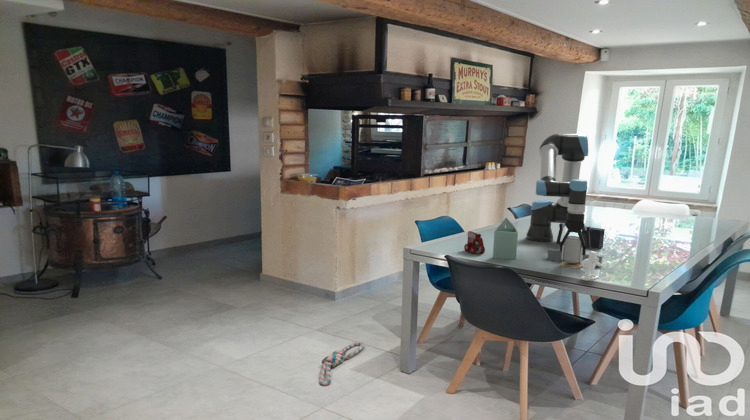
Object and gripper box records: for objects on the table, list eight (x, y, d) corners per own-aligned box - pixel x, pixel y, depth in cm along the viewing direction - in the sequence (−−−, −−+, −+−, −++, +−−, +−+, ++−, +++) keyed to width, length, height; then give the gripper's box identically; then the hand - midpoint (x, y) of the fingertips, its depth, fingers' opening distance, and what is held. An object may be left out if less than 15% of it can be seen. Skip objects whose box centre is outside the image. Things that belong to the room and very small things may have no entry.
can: (560, 259, 235) (562, 235, 233) (575, 259, 236) (577, 235, 234) (567, 263, 228) (569, 238, 226) (583, 263, 228) (585, 238, 226)
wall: (547, 259, 243) (548, 249, 242) (549, 257, 246) (549, 247, 245) (600, 267, 230) (601, 256, 229) (601, 265, 234) (602, 255, 233)
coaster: (559, 266, 230) (559, 264, 230) (563, 262, 238) (563, 260, 238) (579, 269, 226) (579, 267, 226) (582, 264, 233) (583, 263, 233)
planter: (505, 261, 237) (507, 221, 234) (492, 257, 243) (494, 218, 240) (526, 256, 247) (529, 218, 244) (513, 253, 253) (516, 216, 250)
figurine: (590, 282, 206) (592, 254, 204) (577, 277, 212) (579, 250, 210) (604, 279, 210) (606, 252, 209) (591, 275, 216) (593, 249, 214)
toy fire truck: (476, 255, 247) (477, 235, 245) (462, 250, 258) (463, 230, 256) (487, 254, 250) (488, 234, 248) (473, 249, 261) (474, 230, 259)
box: (603, 247, 273) (605, 228, 271) (599, 249, 268) (601, 230, 266) (584, 244, 280) (585, 226, 278) (579, 245, 275) (581, 227, 274)
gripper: (551, 211, 230) (547, 258, 234) (598, 216, 220) (593, 265, 223) (554, 209, 236) (551, 255, 240) (600, 213, 226) (596, 261, 230)
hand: (571, 260), depth 232 cm, fingers closed on can, 7 cm apart
